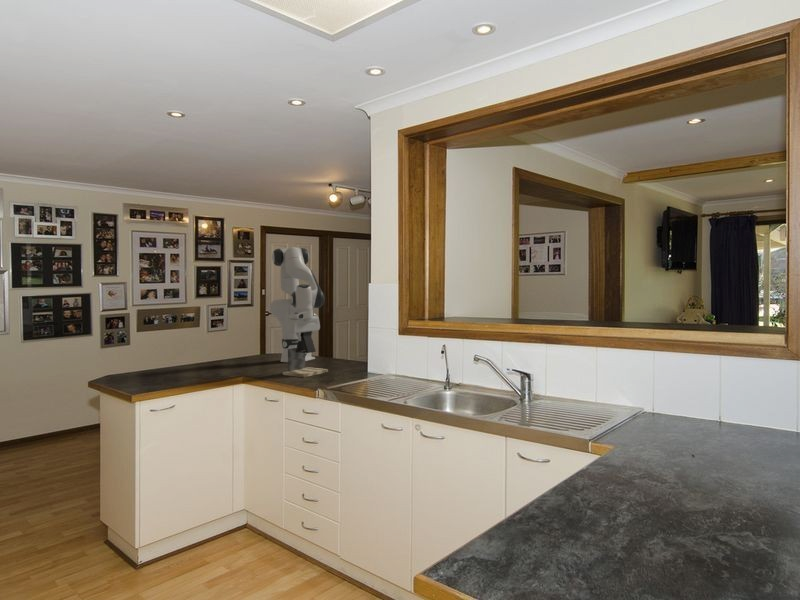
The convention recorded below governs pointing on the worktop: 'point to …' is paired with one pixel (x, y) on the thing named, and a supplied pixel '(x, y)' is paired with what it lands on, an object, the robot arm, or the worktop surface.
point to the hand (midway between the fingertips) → (305, 340)
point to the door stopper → (305, 343)
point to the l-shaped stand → (300, 365)
